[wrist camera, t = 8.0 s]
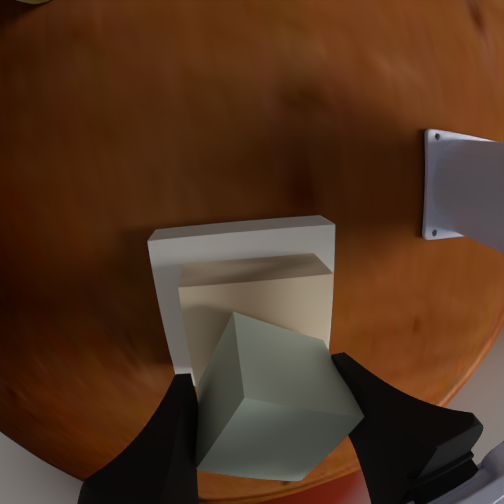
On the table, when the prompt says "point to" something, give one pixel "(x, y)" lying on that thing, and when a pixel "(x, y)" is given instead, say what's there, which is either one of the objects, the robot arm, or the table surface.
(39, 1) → the plant pot
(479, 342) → the table surface
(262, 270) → the beech top block
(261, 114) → the table surface
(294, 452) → the sage block
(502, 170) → the robot arm
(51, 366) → the table surface
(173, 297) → the grey base block
